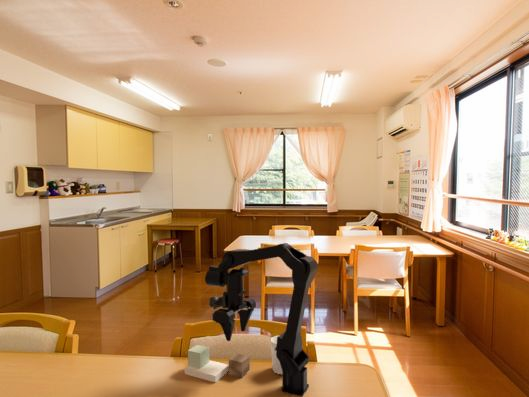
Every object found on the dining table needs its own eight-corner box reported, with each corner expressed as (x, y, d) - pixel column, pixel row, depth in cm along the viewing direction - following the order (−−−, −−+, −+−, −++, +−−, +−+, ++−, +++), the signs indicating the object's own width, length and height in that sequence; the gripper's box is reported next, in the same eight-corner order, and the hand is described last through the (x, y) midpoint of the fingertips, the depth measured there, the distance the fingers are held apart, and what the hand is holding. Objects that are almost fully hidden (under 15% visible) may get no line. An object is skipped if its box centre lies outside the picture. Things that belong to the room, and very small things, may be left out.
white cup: (294, 365, 113) (294, 335, 113) (294, 376, 105) (294, 345, 105) (271, 364, 113) (271, 334, 114) (269, 375, 106) (269, 344, 106)
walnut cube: (249, 371, 108) (249, 356, 109) (242, 378, 104) (242, 362, 104) (236, 368, 111) (236, 353, 111) (228, 374, 106) (228, 359, 106)
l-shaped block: (229, 371, 108) (229, 349, 109) (215, 382, 101) (215, 359, 101) (199, 363, 114) (200, 343, 114) (184, 373, 106) (184, 352, 107)
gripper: (229, 281, 121) (230, 324, 120) (197, 292, 104) (198, 342, 103) (256, 282, 116) (257, 327, 115) (227, 295, 99) (228, 347, 98)
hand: (235, 335), depth 108 cm, fingers open, 9 cm apart
